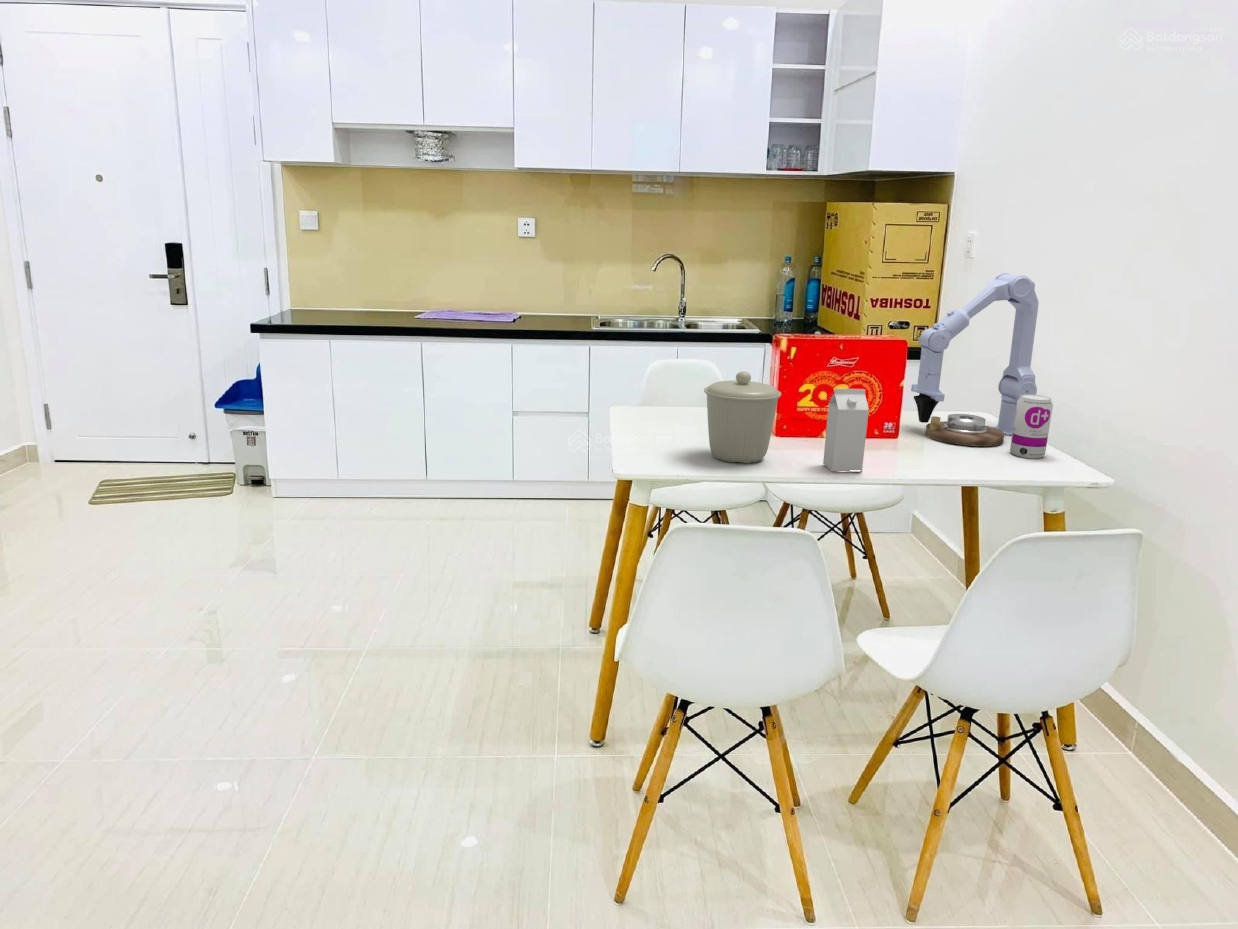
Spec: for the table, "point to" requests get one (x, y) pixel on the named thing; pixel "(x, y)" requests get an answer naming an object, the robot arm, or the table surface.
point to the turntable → (963, 435)
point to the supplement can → (1031, 426)
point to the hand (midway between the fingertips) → (923, 422)
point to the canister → (740, 418)
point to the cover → (965, 424)
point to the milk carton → (846, 430)
